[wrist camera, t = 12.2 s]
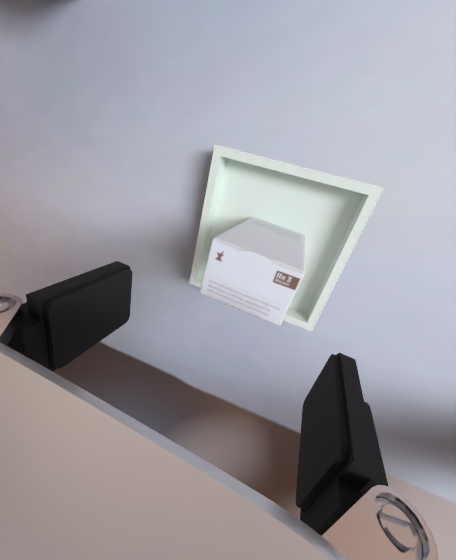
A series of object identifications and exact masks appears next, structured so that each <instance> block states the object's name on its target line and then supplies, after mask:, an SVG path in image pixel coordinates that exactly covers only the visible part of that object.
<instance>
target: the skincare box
mask: <svg viewBox="0 0 456 560" xmlns="http://www.w3.org/2000/svg"><path fill="white" fill-rule="evenodd" d="M304 275H305V235H303V234H300V233H297V232H294V231H291V230H289V229H286V228H283V227H280V226H277V225H274V224H272V223H269V222H266V221H263V220H260V219H257V218H254V217H251V218H249V219H247V220H246V221H244V222H242V223H240V224H238V225H236V226H235V227H233V228H231V229H229V230H227V231H225V232H223V233H222V234H220V235H218V236H216V237H214V238H213V239H212V243H211V248H210V252H209V256H208V260H207V264H206V268H205V272H204V277H203V281H202V285H201V289H200V293H201V294H203V295H205V296H208V297H210V298H213V299H215V300H218V301H220V302H223V303H225V304H228V305H230V306H233V307H235V308H237V309H240V310H242V311H245V312H247V313H250V314H252V315H254V316H257V317H259V318H262V319H264V320H266V321H269V322H271V323H274V324H276V325H278V326H280V325H281V323H282V322H283V319H284V317H285V315H286V313H287V311H288V308H289V306H290V304H291V302H292V300H293V298H294V295H295V293H296V291H297V289H298V287H299V285H300V283H301V281H302V279H303V277H304Z"/></svg>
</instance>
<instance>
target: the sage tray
mask: <svg viewBox="0 0 456 560" xmlns="http://www.w3.org/2000/svg"><path fill="white" fill-rule="evenodd" d="M383 189H384V188H383V187H379V186H376V185H372V184H368V183H364V182H360V181H356V180H352V179H348V178H344V177H340V176H336V175H332V174H328V173H325V172H321V171H317V170H313V169H309V168H305V167H301V166H297V165H293V164H289V163H285V162H281V161H277V160H274V159H270V158H266V157H262V156H258V155H254V154H250V153H246V152H242V151H238V150H234V149H230V148H226V147H223V146H219V145H214V150H213V156H212V161H211V167H210V172H209V178H208V183H207V189H206V194H205V200H204V205H203V210H202V216H201V221H200V227H199V232H198V238H197V243H196V249H195V254H194V260H193V265H192V270H191V276H190V281H189V284H191V285H194V286H196V287H199V288H201V285H202V281H203V277H204V272H205V268H206V264H207V260H208V256H209V252H210V248H211V243H212V239H213V238H214V237H216V236H218V235H220V234H222V233H223V232H225V231H227V230H229V229H231V228H233V227H235V226H236V225H238V224H240V223H242V222H244V221H246V220H247V219H249V218H251V217H254V218H257V219H260V220H263V221H266V222H269V223H272V224H274V225H277V226H280V227H283V228H286V229H289V230H291V231H294V232H297V233H300V234H303V235H305V275H304V277H303V279H302V281H301V283H300V285H299V287H298V289H297V291H296V293H295V295H294V298H293V300H292V302H291V304H290V306H289V308H288V311H287V313H286V315H285V317H284V319H283V321H286V322H289V323H291V324H294V325H296V326H299V327H301V328H304V329H307V330H309V331H312V330H313V328H314V326H315V324H316V322H317V320H318V318H319V316H320V314H321V312H322V310H323V308H324V306H325V304H326V302H327V300H328V298H329V296H330V294H331V292H332V290H333V288H334V286H335V284H336V282H337V280H338V278H339V276H340V274H341V272H342V270H343V268H344V266H345V264H346V262H347V260H348V258H349V256H350V254H351V252H352V250H353V248H354V246H355V244H356V242H357V240H358V238H359V236H360V234H361V233H362V231H363V229H364V227H365V225H366V223H367V221H368V219H369V217H370V215H371V213H372V211H373V209H374V207H375V205H376V203H377V201H378V199H379V197H380V195H381V193H382V191H383Z"/></svg>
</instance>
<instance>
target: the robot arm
mask: <svg viewBox="0 0 456 560" xmlns="http://www.w3.org/2000/svg"><path fill="white" fill-rule="evenodd" d="M131 286H132V271H131V270H130V267H129V266H128V265H126V264H123V263H121V262H118V261H117V262H113V263H111V264H108V265H105V266H102V267H100V268H97V269H94V270H92V271H89V272H86V273H83V274H81V275H78V276H75V277H73V278H70V279H67V280H64V281H62V282H59V283H56V284H54V285H51V286H48V287H45V288H43V289H40V290H37V291H35V292H32V293H29V294H26V298H27V302H26V303H24V304H22V301H21V299H20V298H19V297H17V296H14V295H9V294H0V560H438V554H437V548H436V544H435V541H434V538H433V536H432V533H431V531H430V529H429V527H428V526H427V524H426V522H425V520H424V519H423V517H422V516H421V515H420V513H419V512H418V511H417V509H416V508H415V507H414V506H413V505H412V504H411V503H410V502H409V501H408V500H407V499H406V498H405V497H404V496H403V495H401V494H400V493H399V492H397V491H396V490H394V489H392V488H390V487H388V483H387V479H386V474H385V470H384V465H383V461H382V457H381V452H380V448H379V444H378V439H377V435H376V431H375V426H374V422H373V417H372V413H371V409H370V406H369V405H368V404H367V403H366V402H364V400H363V395H362V390H361V385H360V380H359V375H358V371H357V366H356V361H355V359H353V358H351V357H348V356H346V355H343V354H341V353H338V354H337V355H333V354H332V355H331V356H330V358H329V359H328V361H327V363H326V364H325V366H324V368H323V370H322V371H321V373H320V375H319V376H318V378H317V380H316V382H315V383H314V385H313V387H312V388H311V390H310V392H309V394H308V395H307V397H306V399H305V401H304V404H303V412H302V425H301V438H300V451H299V464H298V478H297V491H296V505H297V506H298V507H299V508H301V513H300V520H299V519H298V518H297V517H295V516H294V515H292V514H291V513H289V512H288V511H286V510H285V509H283V508H282V507H280V506H279V505H277V504H276V503H274V502H273V501H271V500H269V499H268V498H266V497H264V496H263V495H261V494H260V493H258V492H256V491H255V490H253V489H251V488H250V487H248V486H246V485H245V484H243V483H242V482H240V481H238V480H237V479H235V478H233V477H232V476H230V475H229V474H227V473H225V472H224V471H222V470H220V469H218V468H217V467H215V466H213V465H212V464H210V463H208V462H207V461H205V460H203V459H202V458H200V457H198V456H196V455H195V454H193V453H191V452H190V451H188V450H186V449H184V448H183V447H181V446H179V445H178V444H176V443H174V442H173V441H171V440H169V439H168V438H166V437H164V436H162V435H161V434H159V433H157V432H156V431H154V430H152V429H151V428H148V427H147V426H145V425H144V424H142V423H140V422H138V421H137V420H135V419H133V418H132V417H130V416H128V415H127V414H125V413H123V412H121V411H120V410H118V409H116V408H114V407H113V406H111V405H109V404H108V403H106V402H104V401H102V400H101V399H99V398H97V397H96V396H94V395H92V394H90V393H89V392H87V391H85V390H83V389H82V388H80V387H78V386H77V385H75V384H73V383H71V382H70V381H68V380H66V379H64V378H62V377H61V376H59V375H57V374H56V373H54V372H53V371H54V370H55V369H57V368H62V367H64V366H65V365H66V364H68V363H69V362H71V361H72V360H73V359H75V358H76V357H78V356H79V355H81V354H82V353H84V352H85V351H86V350H88V349H89V348H91V347H92V346H94V345H95V344H96V343H98V342H99V341H101V340H102V339H103V338H105V337H106V336H108V335H109V334H111V333H112V332H113V331H115V330H116V329H118V328H119V327H121V326H122V325H123V324H125V323H126V322H127V321H128V319H129V316H130V302H131Z"/></svg>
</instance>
